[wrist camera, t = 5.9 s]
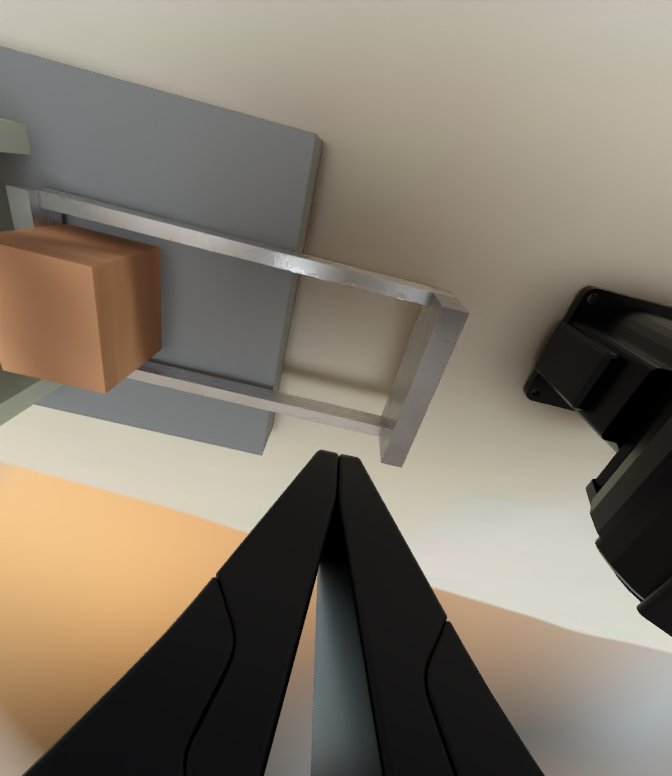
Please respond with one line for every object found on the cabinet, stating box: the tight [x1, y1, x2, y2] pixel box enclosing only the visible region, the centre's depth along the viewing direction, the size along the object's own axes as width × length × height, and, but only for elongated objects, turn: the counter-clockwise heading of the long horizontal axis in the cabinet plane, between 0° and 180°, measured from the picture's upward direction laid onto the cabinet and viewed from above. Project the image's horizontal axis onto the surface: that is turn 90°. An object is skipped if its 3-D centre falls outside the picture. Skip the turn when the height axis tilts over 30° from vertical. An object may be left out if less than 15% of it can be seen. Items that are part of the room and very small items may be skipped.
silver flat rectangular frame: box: [5, 185, 469, 467], centre depth 15 cm, size 18×8×3 cm, turn 77°
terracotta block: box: [0, 224, 162, 394], centre depth 15 cm, size 4×5×4 cm
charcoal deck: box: [0, 46, 322, 455], centre depth 17 cm, size 26×16×2 cm, turn 77°
